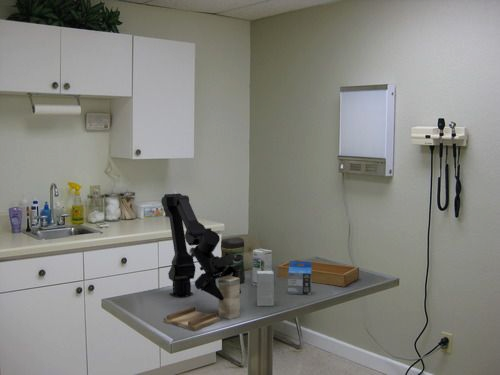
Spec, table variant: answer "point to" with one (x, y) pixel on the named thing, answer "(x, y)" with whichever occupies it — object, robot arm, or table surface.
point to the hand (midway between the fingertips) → (231, 296)
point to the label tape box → (299, 277)
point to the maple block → (229, 297)
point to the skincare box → (265, 288)
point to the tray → (326, 273)
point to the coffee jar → (235, 253)
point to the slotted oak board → (191, 319)
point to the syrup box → (261, 262)
